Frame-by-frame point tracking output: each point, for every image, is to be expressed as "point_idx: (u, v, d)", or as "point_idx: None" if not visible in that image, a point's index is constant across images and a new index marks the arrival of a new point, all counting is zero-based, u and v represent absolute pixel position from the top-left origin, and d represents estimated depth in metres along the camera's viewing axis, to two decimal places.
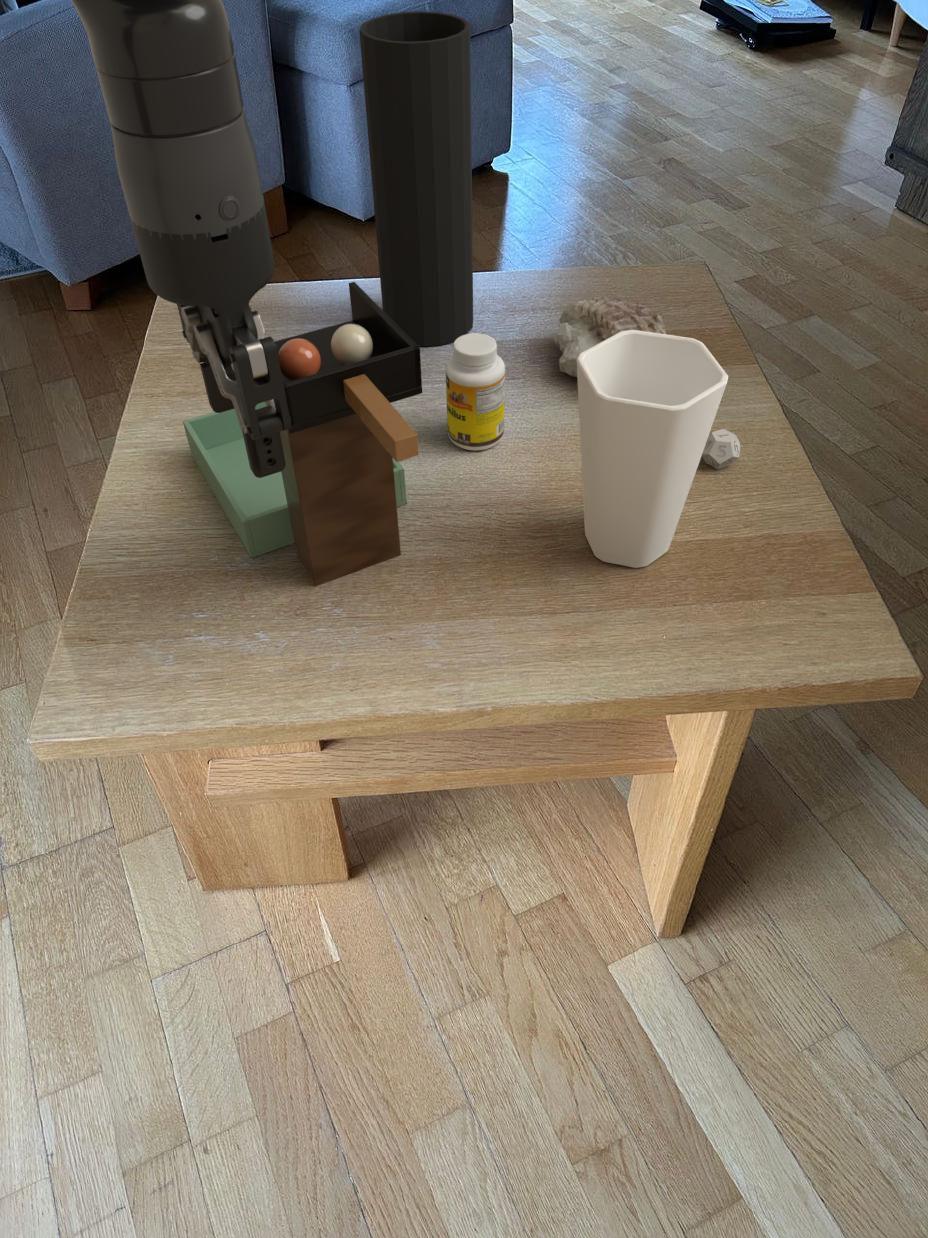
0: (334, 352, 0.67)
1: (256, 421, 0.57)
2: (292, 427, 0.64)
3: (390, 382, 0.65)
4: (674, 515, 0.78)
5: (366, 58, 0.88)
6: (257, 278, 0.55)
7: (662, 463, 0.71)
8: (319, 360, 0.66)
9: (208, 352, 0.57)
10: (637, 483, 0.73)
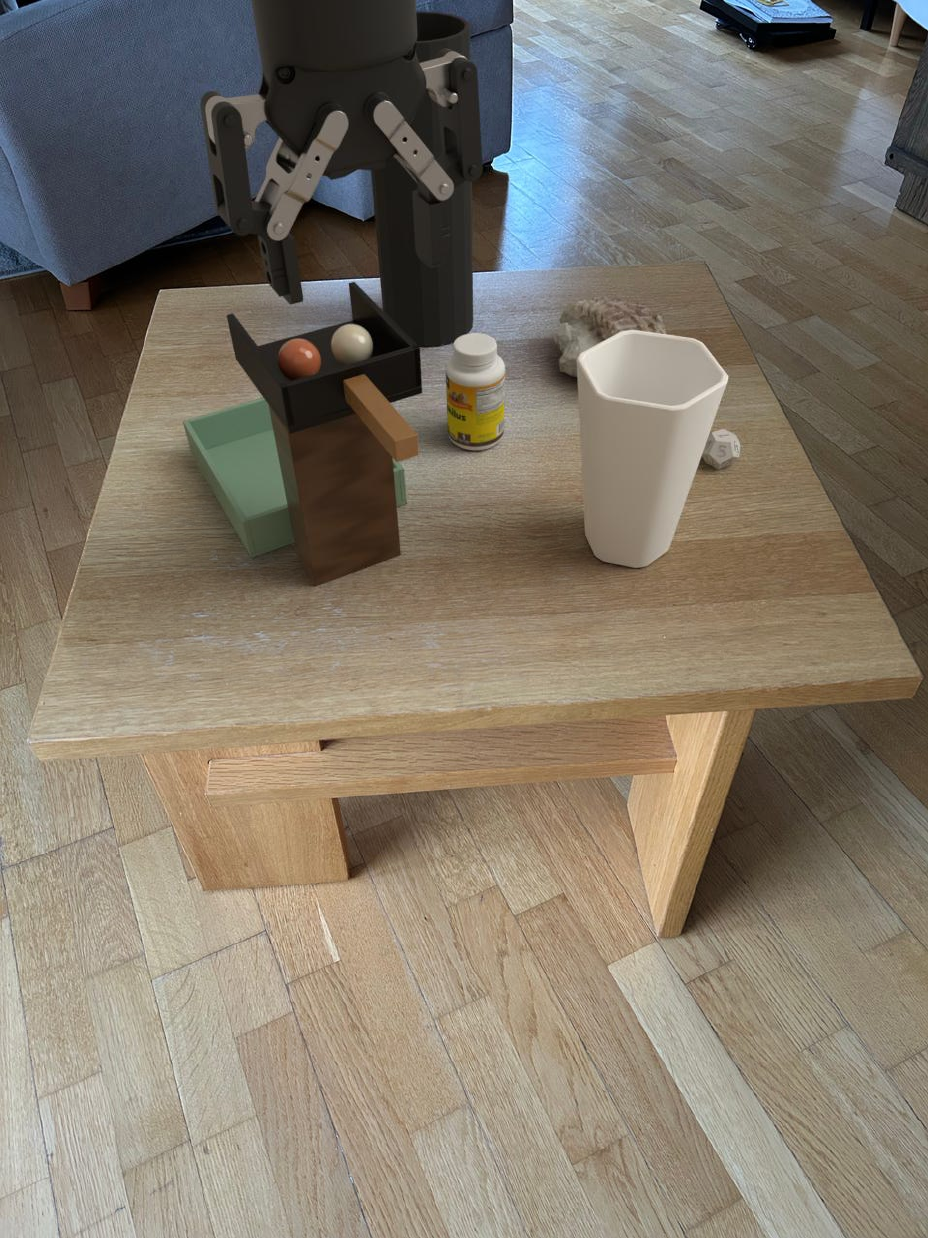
0: (334, 352, 0.67)
1: None
2: (292, 427, 0.64)
3: (390, 382, 0.65)
4: (674, 515, 0.78)
5: None
6: None
7: (662, 463, 0.71)
8: (319, 360, 0.66)
9: (403, 123, 0.47)
10: (637, 483, 0.73)
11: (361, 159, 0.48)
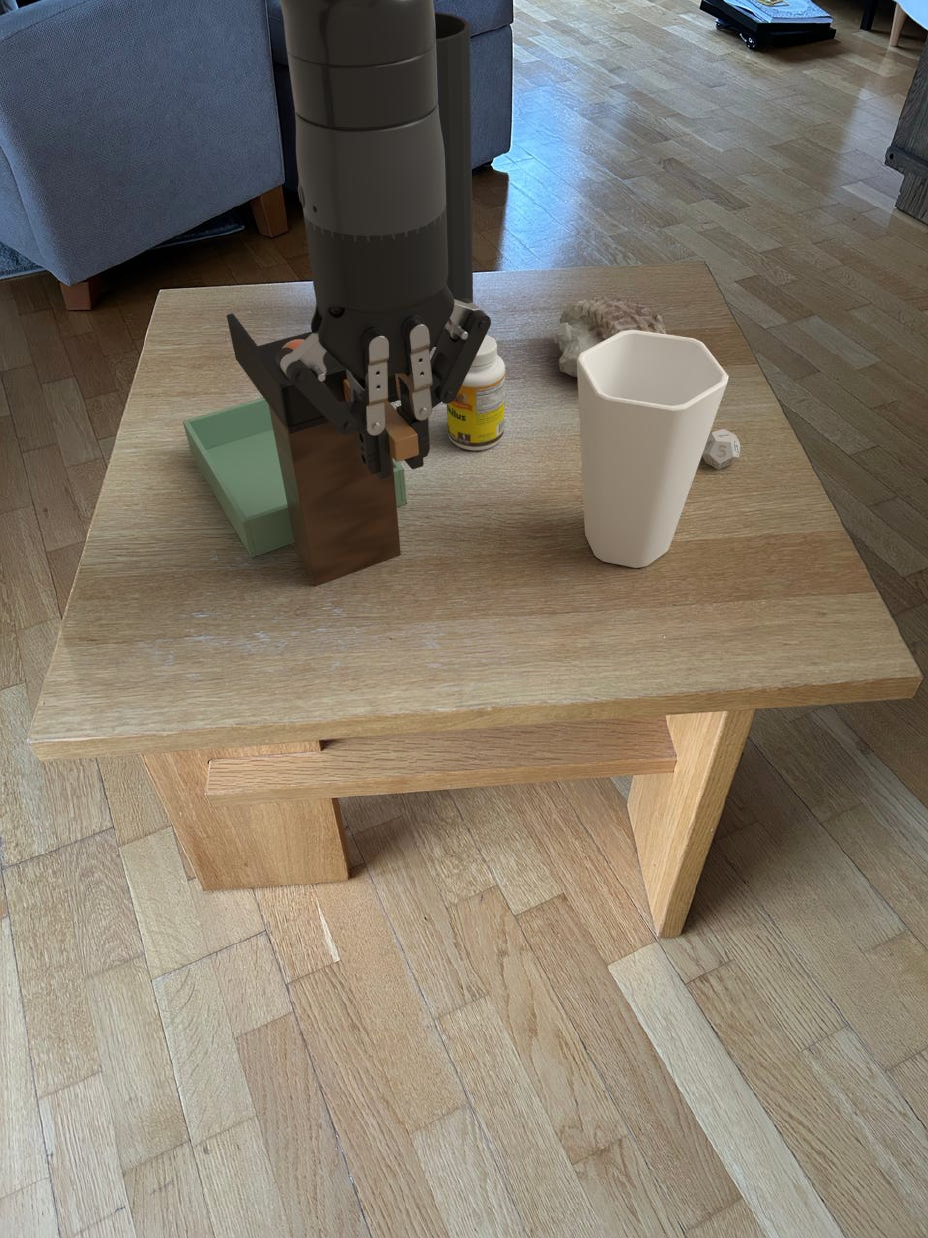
0: None
1: None
2: (292, 427, 0.64)
3: (390, 382, 0.65)
4: (674, 515, 0.78)
5: None
6: None
7: (662, 463, 0.71)
8: None
9: (426, 348, 0.55)
10: (637, 483, 0.73)
11: (398, 366, 0.56)
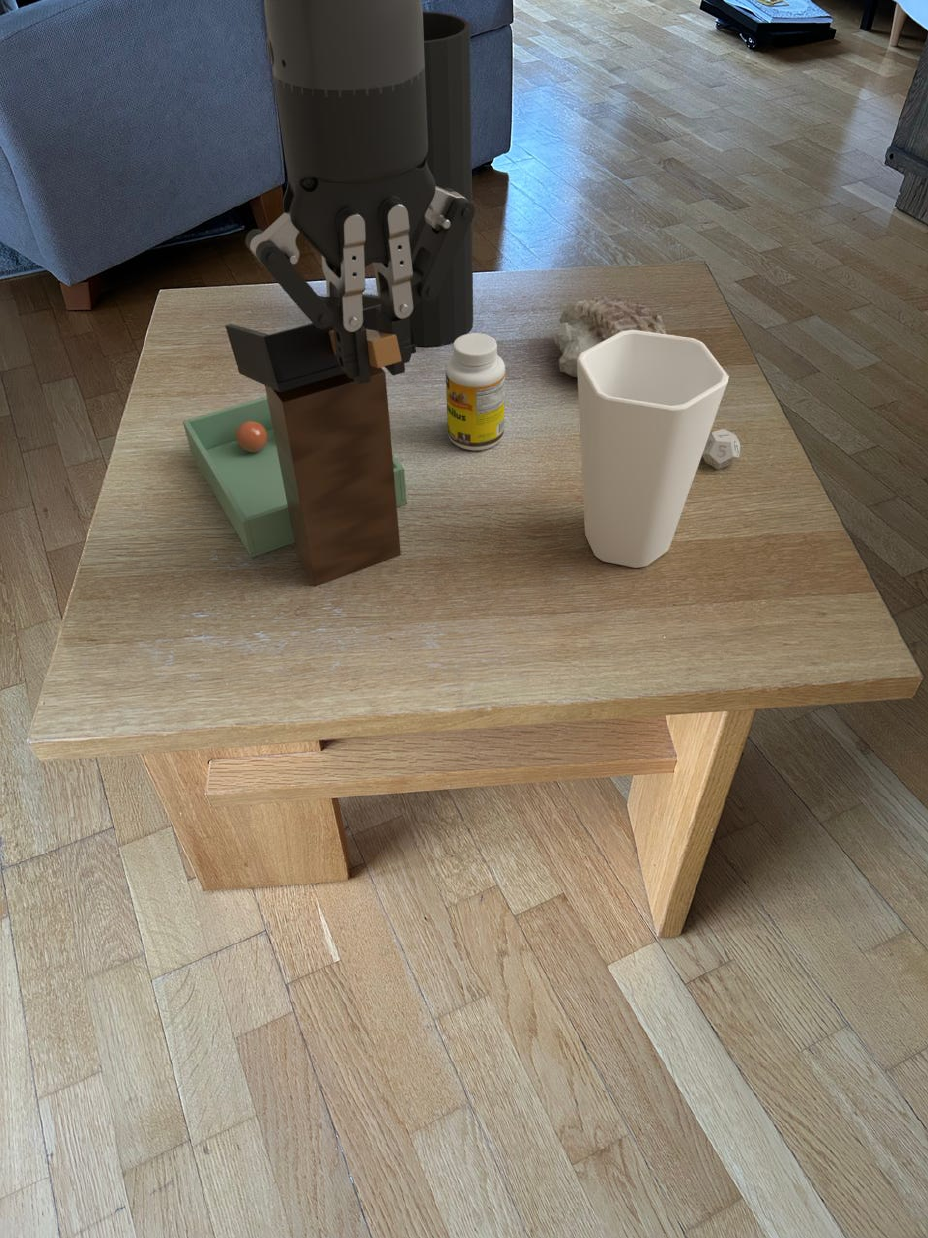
0: None
1: None
2: (282, 384, 0.62)
3: None
4: (674, 515, 0.78)
5: None
6: None
7: (662, 463, 0.71)
8: (263, 428, 0.91)
9: (405, 234, 0.52)
10: (637, 483, 0.73)
11: (376, 254, 0.53)
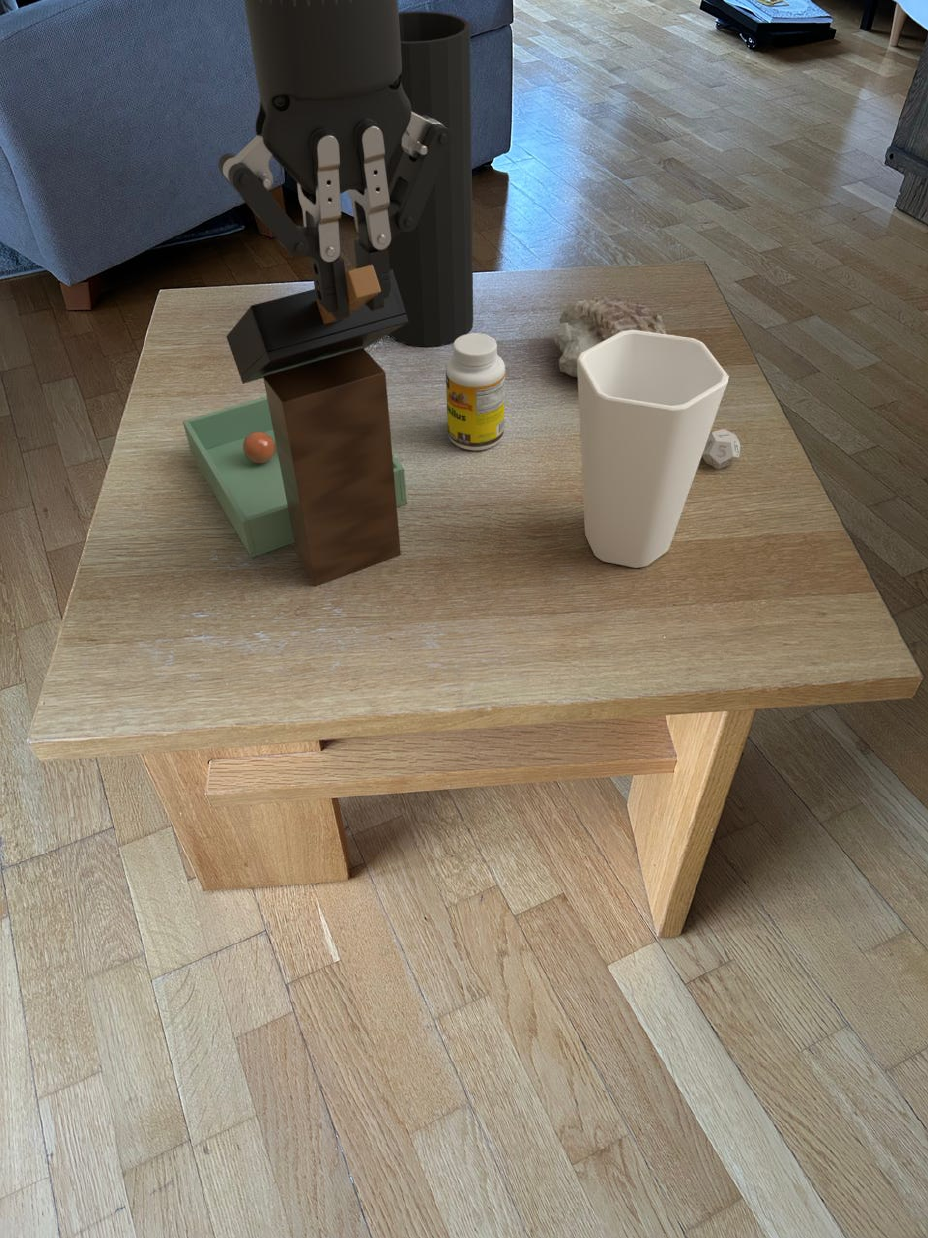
0: None
1: None
2: (272, 353, 0.61)
3: None
4: (674, 515, 0.78)
5: None
6: None
7: (662, 463, 0.71)
8: (274, 452, 0.90)
9: (381, 158, 0.52)
10: (637, 483, 0.73)
11: (351, 180, 0.52)
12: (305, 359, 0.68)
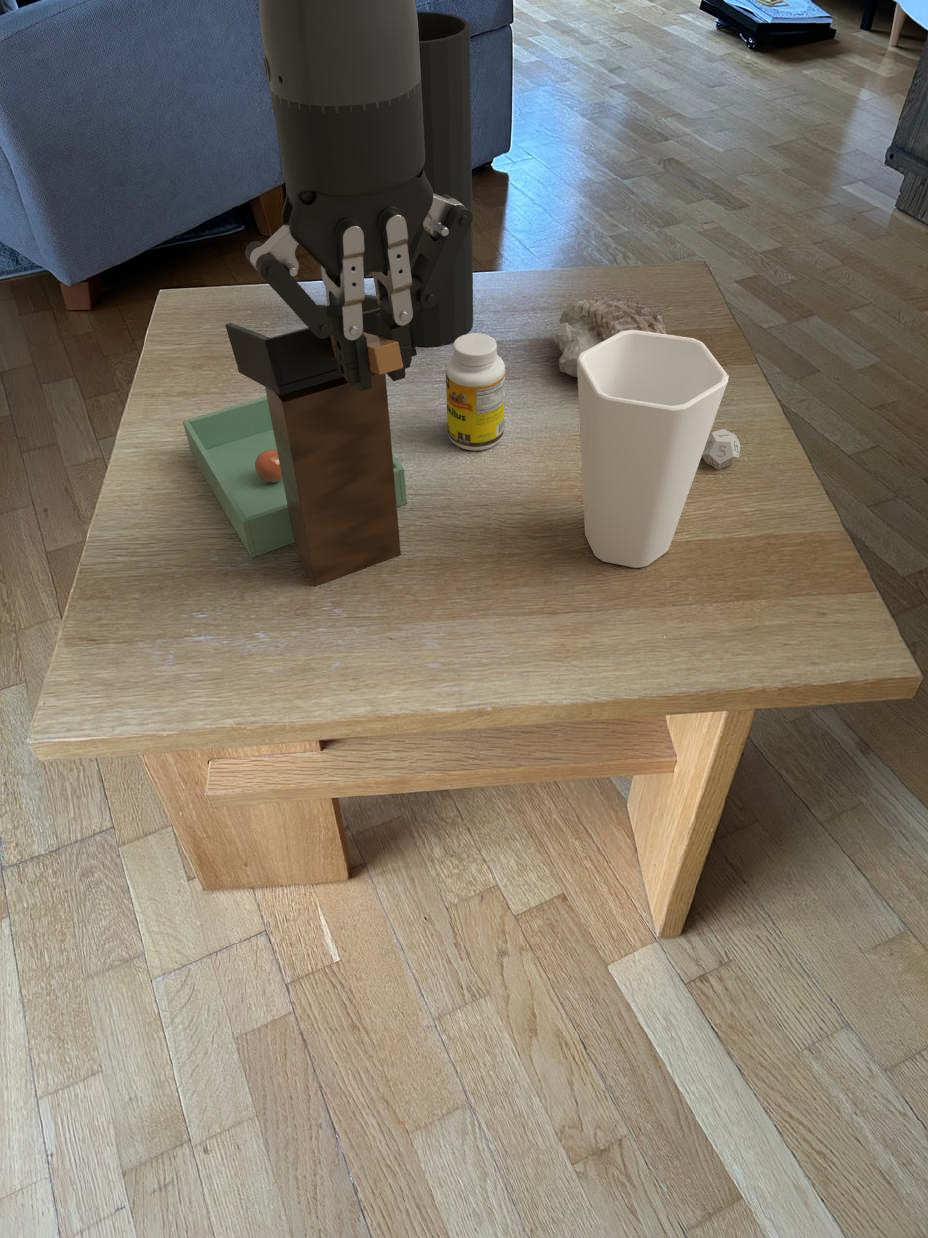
0: None
1: None
2: (283, 387, 0.62)
3: None
4: (674, 515, 0.78)
5: None
6: None
7: (662, 463, 0.71)
8: None
9: (404, 243, 0.53)
10: (637, 483, 0.73)
11: (375, 263, 0.53)
12: None
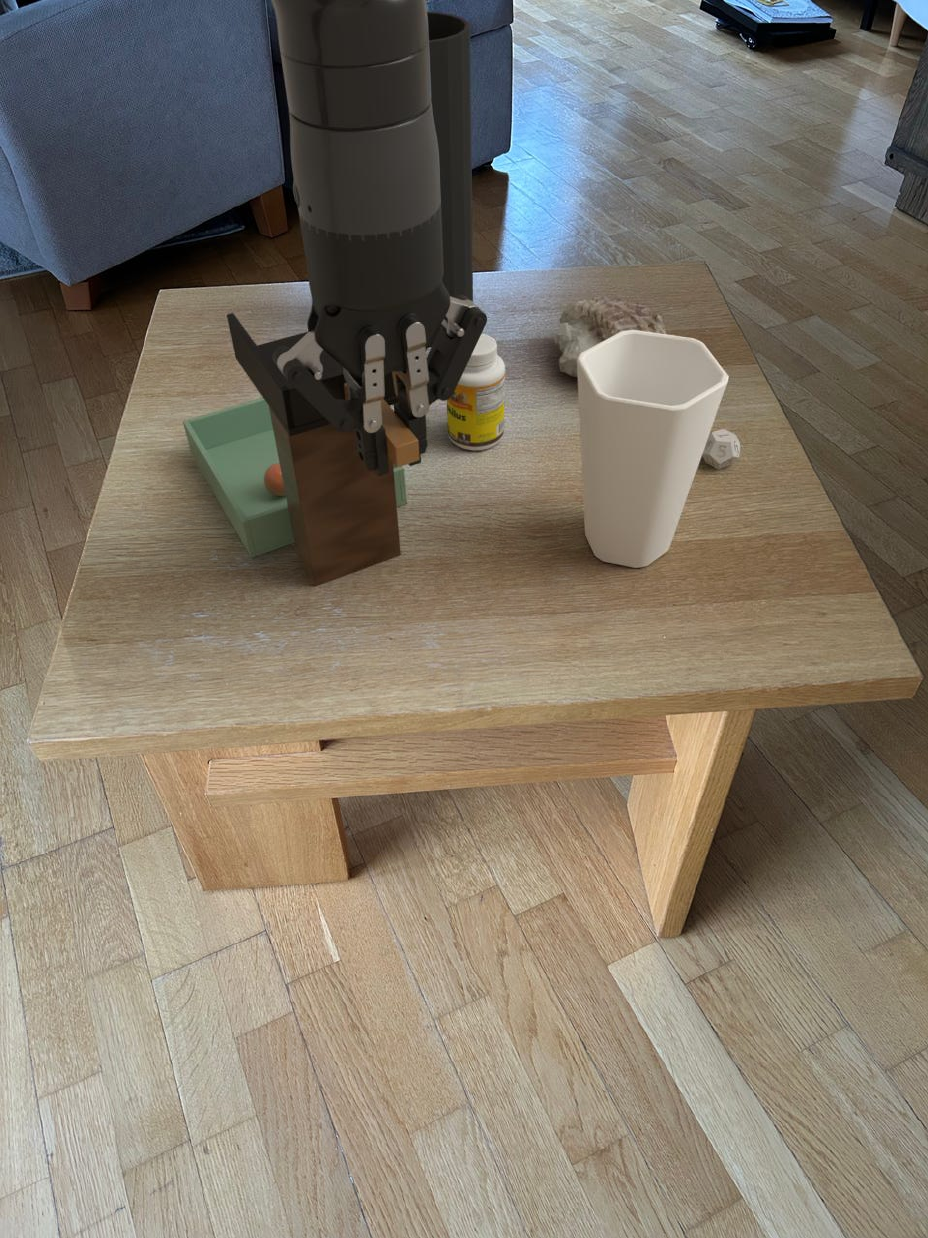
0: None
1: None
2: (293, 430, 0.64)
3: (390, 385, 0.65)
4: (674, 515, 0.78)
5: None
6: None
7: (662, 463, 0.71)
8: None
9: (422, 346, 0.56)
10: (637, 483, 0.73)
11: (394, 364, 0.56)
12: None
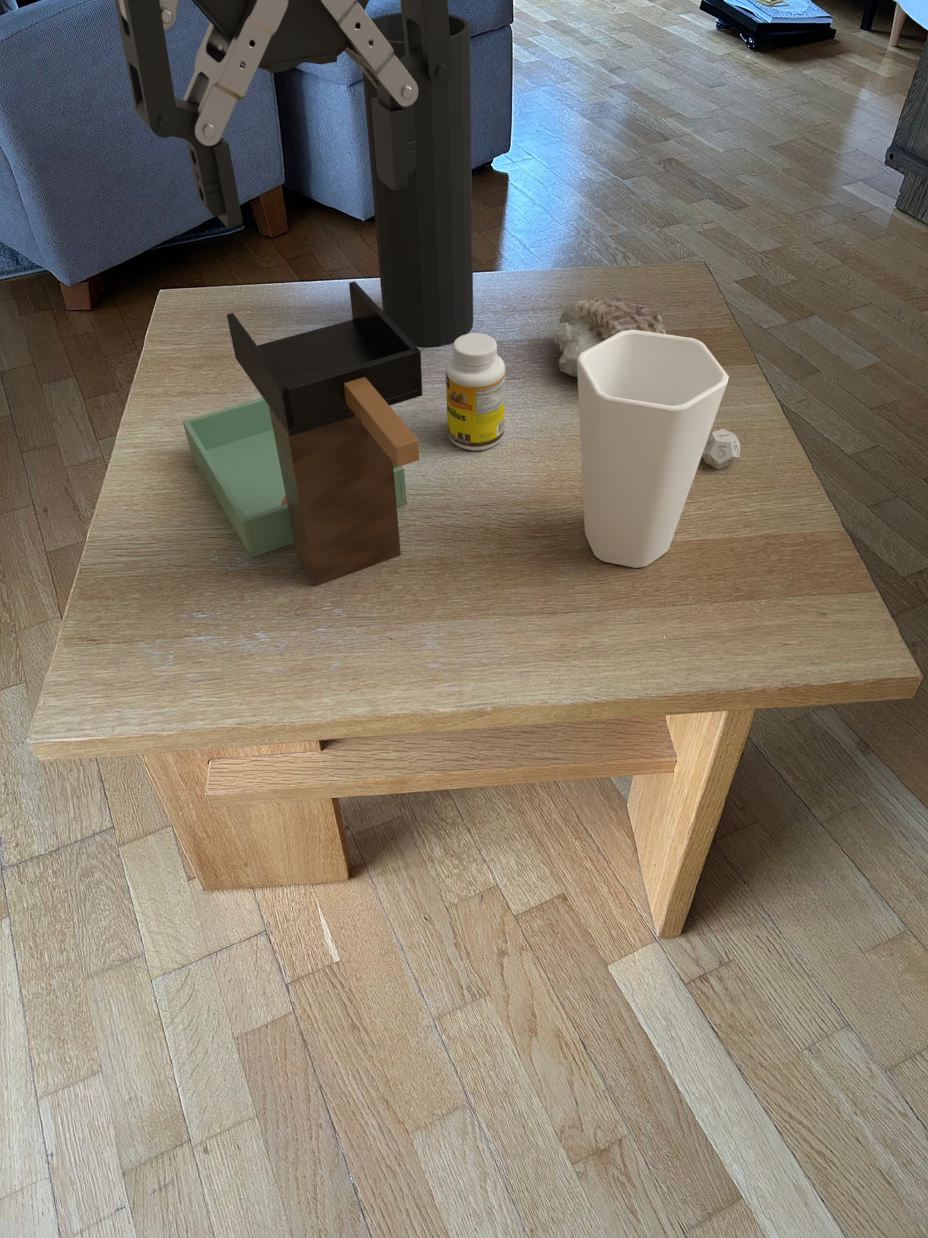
0: None
1: None
2: (293, 430, 0.64)
3: (390, 385, 0.65)
4: (674, 515, 0.78)
5: None
6: None
7: (662, 463, 0.71)
8: None
9: (355, 5, 0.40)
10: (637, 483, 0.73)
11: (306, 49, 0.41)
12: None
